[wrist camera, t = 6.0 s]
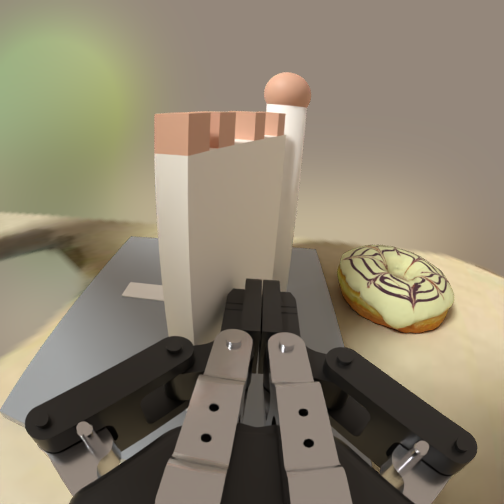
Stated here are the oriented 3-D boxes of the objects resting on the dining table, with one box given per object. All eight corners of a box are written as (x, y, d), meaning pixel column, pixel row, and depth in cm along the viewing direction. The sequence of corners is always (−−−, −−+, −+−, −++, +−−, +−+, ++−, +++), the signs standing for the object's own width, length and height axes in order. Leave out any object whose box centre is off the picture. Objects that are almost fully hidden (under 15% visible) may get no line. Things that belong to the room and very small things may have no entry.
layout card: (4, 416, 11) (-2, 410, 11) (131, 241, 33) (130, 235, 33) (368, 477, 11) (373, 472, 11) (314, 254, 33) (315, 248, 32)
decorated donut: (398, 361, 19) (417, 319, 17) (309, 286, 27) (316, 248, 26) (460, 314, 24) (475, 279, 22) (382, 264, 32) (390, 232, 30)
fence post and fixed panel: (249, 312, 22) (265, 67, 15) (254, 244, 32) (265, 83, 25) (288, 314, 22) (316, 73, 15) (281, 246, 32) (296, 85, 25)
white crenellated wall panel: (252, 308, 22) (266, 111, 16) (268, 313, 22) (287, 113, 16) (180, 407, 14) (154, 113, 8) (201, 417, 14) (188, 113, 8)
